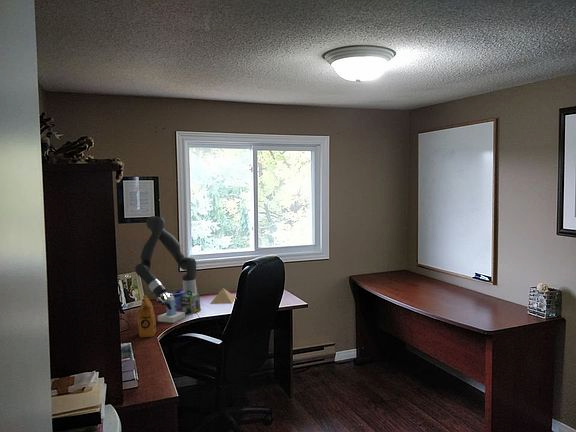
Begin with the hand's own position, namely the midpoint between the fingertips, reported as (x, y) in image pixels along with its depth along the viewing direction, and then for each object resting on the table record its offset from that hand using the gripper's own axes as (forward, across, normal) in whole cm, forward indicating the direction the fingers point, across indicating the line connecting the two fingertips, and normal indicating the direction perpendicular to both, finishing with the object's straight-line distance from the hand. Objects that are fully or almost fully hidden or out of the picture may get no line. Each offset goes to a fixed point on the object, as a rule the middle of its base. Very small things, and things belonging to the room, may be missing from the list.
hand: (173, 307), depth 284 cm
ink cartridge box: (-3, +20, +14) cm, 25 cm away
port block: (+4, 0, +7) cm, 8 cm away
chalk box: (+5, +19, +6) cm, 21 cm away
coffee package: (+8, -28, +3) cm, 29 cm away
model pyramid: (+9, +50, +2) cm, 51 cm away
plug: (+3, 0, +6) cm, 6 cm away
